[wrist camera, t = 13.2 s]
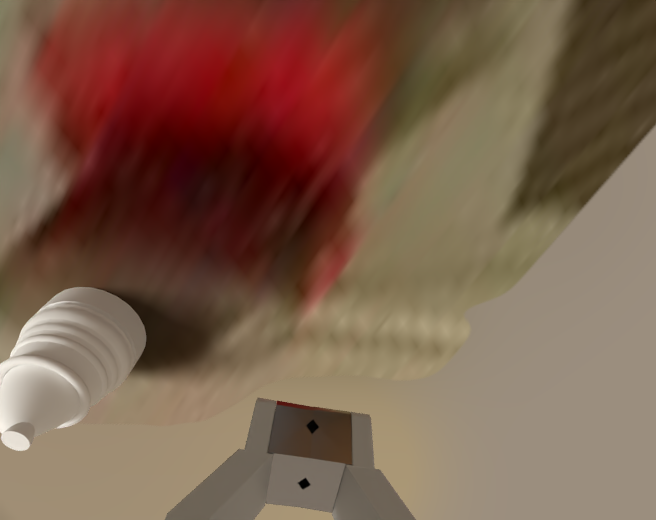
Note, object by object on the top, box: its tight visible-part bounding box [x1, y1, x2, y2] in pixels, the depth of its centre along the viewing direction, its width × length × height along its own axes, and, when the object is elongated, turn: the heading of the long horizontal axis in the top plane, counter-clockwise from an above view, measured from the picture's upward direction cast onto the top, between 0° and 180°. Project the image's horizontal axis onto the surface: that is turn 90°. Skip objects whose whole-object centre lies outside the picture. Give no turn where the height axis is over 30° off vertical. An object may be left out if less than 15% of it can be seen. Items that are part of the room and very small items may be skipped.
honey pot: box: [0, 287, 146, 451], centre depth 49 cm, size 13×13×18 cm
